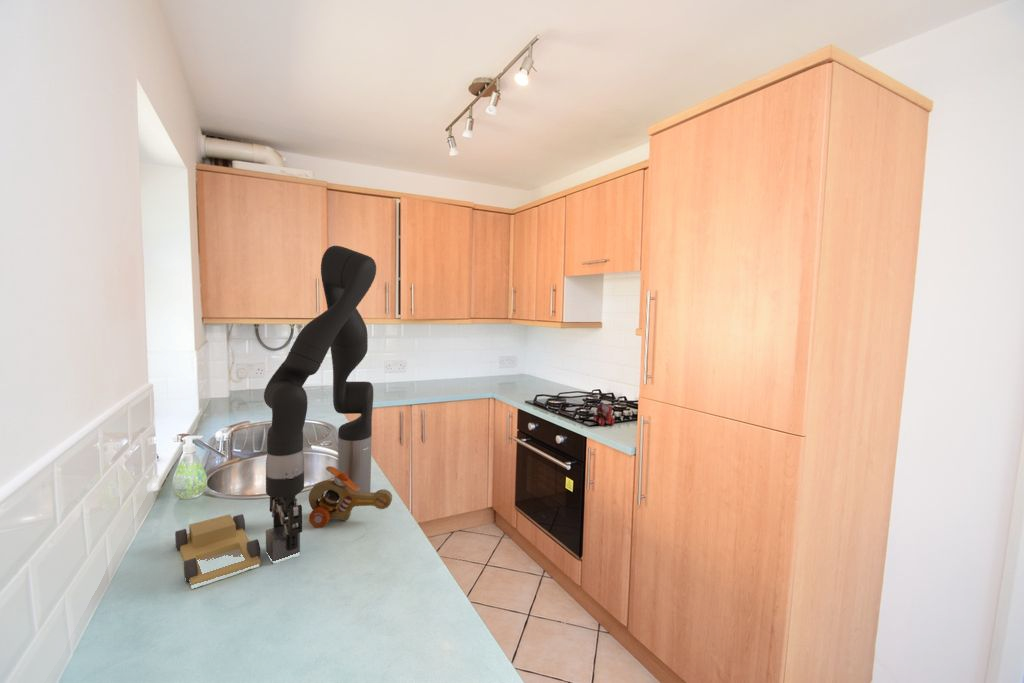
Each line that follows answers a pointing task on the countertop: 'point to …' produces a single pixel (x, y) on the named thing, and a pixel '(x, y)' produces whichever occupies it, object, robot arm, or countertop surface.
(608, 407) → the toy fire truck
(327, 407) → the countertop surface
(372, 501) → the toy helicopter
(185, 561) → the chassis
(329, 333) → the robot arm
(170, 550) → the countertop surface
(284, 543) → the block
